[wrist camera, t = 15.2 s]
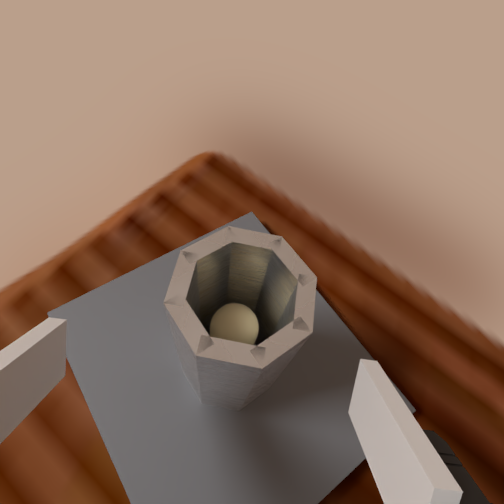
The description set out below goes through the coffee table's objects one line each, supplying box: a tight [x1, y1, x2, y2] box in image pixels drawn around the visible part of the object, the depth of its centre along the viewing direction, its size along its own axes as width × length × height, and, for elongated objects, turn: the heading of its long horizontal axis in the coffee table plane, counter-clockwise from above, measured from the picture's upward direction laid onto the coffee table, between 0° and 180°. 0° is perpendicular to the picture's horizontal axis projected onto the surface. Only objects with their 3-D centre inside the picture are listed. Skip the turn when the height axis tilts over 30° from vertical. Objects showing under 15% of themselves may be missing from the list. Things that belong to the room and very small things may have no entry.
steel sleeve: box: [163, 226, 317, 411], centre depth 20 cm, size 6×6×12 cm
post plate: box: [47, 212, 416, 504], centre depth 22 cm, size 20×18×10 cm
